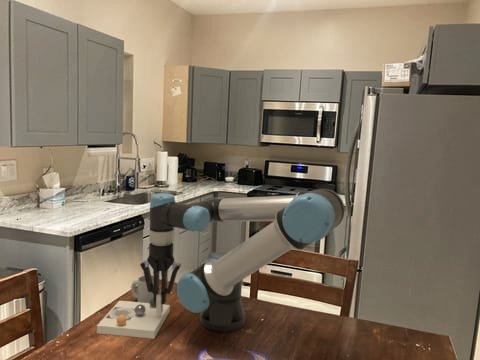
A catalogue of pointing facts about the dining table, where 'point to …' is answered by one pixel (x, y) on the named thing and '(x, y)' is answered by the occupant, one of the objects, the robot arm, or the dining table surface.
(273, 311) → the dining table surface
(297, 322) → the dining table surface
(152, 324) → the board
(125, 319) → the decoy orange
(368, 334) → the dining table surface
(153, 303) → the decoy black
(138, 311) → the ball
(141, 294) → the cup
